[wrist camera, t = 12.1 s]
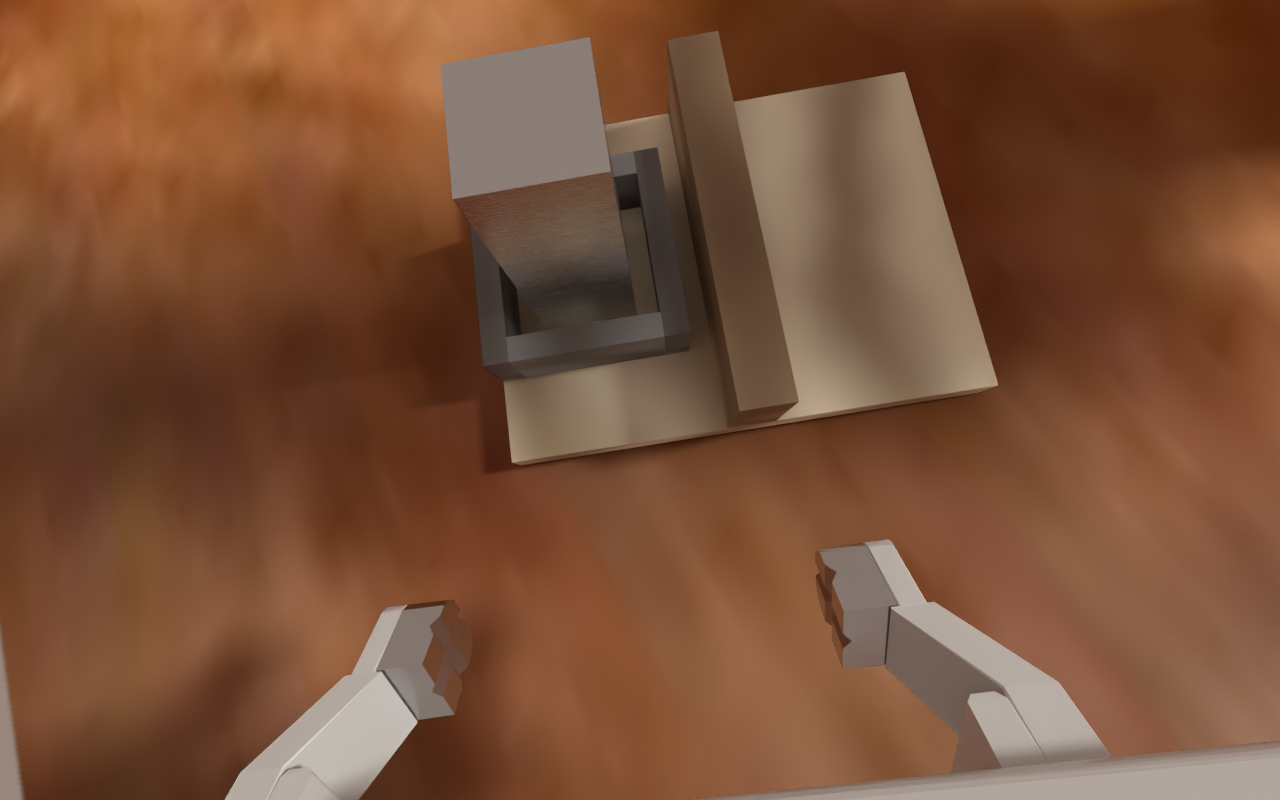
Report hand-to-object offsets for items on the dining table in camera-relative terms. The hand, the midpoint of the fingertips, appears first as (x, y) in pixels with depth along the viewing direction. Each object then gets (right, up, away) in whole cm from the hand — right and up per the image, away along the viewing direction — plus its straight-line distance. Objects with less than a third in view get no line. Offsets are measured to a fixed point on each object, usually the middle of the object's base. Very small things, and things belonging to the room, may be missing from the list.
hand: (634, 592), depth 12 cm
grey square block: (-2, +10, +12) cm, 15 cm away
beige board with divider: (+4, +10, +13) cm, 17 cm away
